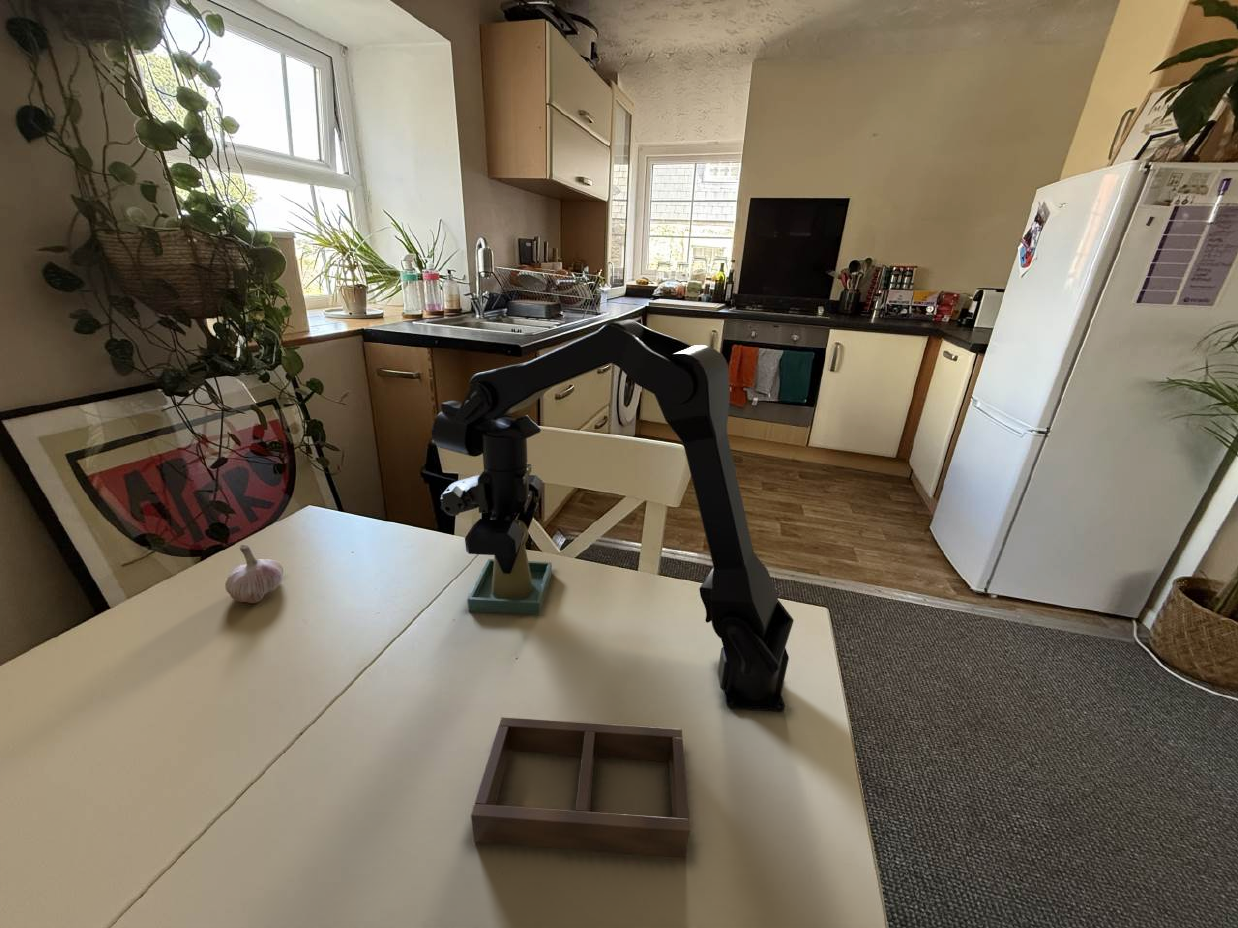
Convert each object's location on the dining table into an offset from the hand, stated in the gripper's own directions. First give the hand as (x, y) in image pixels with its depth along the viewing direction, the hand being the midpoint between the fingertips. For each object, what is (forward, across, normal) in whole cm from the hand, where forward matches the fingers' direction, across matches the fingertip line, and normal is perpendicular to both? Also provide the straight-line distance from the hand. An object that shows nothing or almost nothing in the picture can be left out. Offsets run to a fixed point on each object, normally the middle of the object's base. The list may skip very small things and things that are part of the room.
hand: (511, 562), depth 72 cm
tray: (+5, 0, 0) cm, 5 cm away
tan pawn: (+5, 0, 0) cm, 5 cm away
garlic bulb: (+5, +3, -36) cm, 37 cm away
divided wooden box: (+5, +29, +14) cm, 33 cm away
